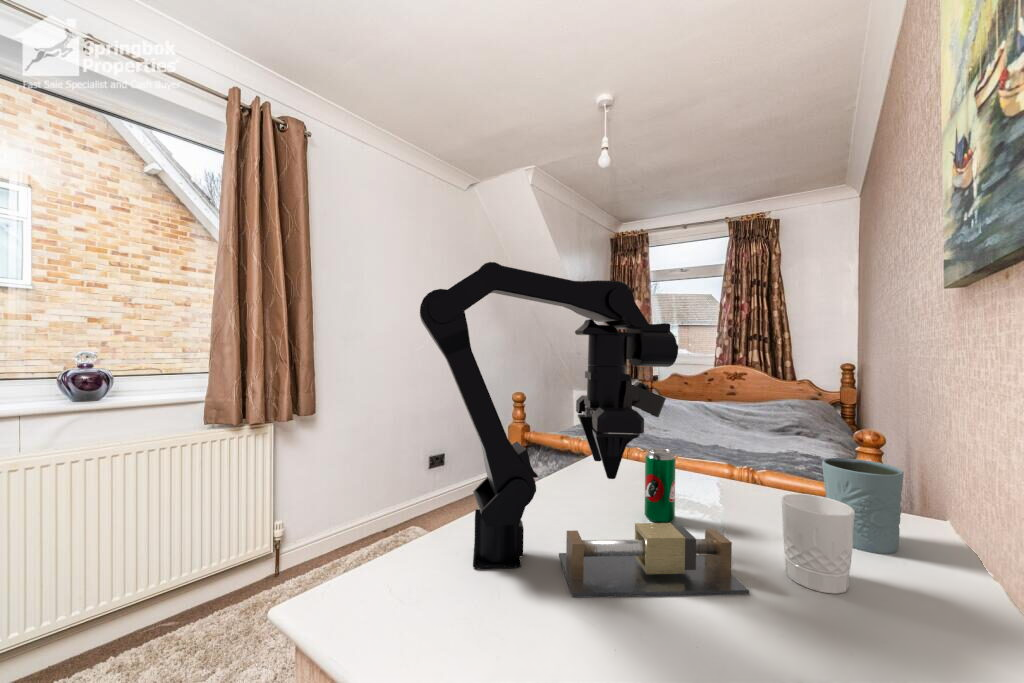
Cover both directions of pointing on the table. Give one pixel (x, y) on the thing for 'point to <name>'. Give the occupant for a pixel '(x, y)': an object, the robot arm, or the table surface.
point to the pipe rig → (620, 574)
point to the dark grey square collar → (688, 548)
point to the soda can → (660, 485)
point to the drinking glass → (868, 500)
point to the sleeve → (661, 548)
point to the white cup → (818, 541)
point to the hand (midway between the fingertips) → (604, 469)
